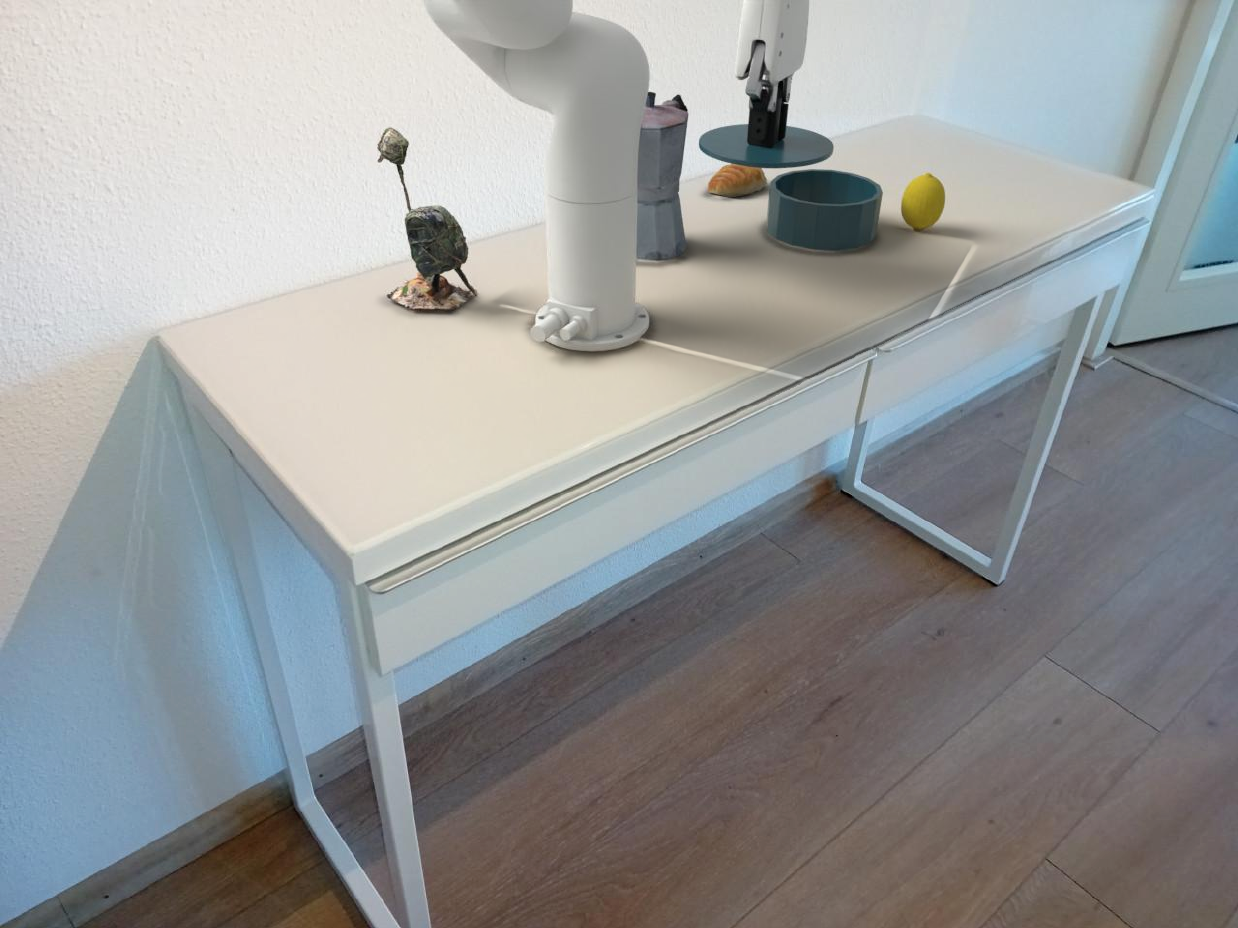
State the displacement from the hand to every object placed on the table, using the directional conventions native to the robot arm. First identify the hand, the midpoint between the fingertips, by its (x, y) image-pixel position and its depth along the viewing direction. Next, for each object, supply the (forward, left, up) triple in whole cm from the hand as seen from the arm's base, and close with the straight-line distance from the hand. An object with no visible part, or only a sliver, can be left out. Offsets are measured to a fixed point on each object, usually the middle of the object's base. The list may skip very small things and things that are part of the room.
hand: (766, 140), depth 113 cm
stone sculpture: (-26, +29, -16) cm, 42 cm away
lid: (0, 0, -1) cm, 1 cm away
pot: (+16, -3, -16) cm, 23 cm away
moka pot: (0, +14, -16) cm, 22 cm away
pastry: (+27, +13, -16) cm, 34 cm away
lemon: (+23, -15, -16) cm, 32 cm away
